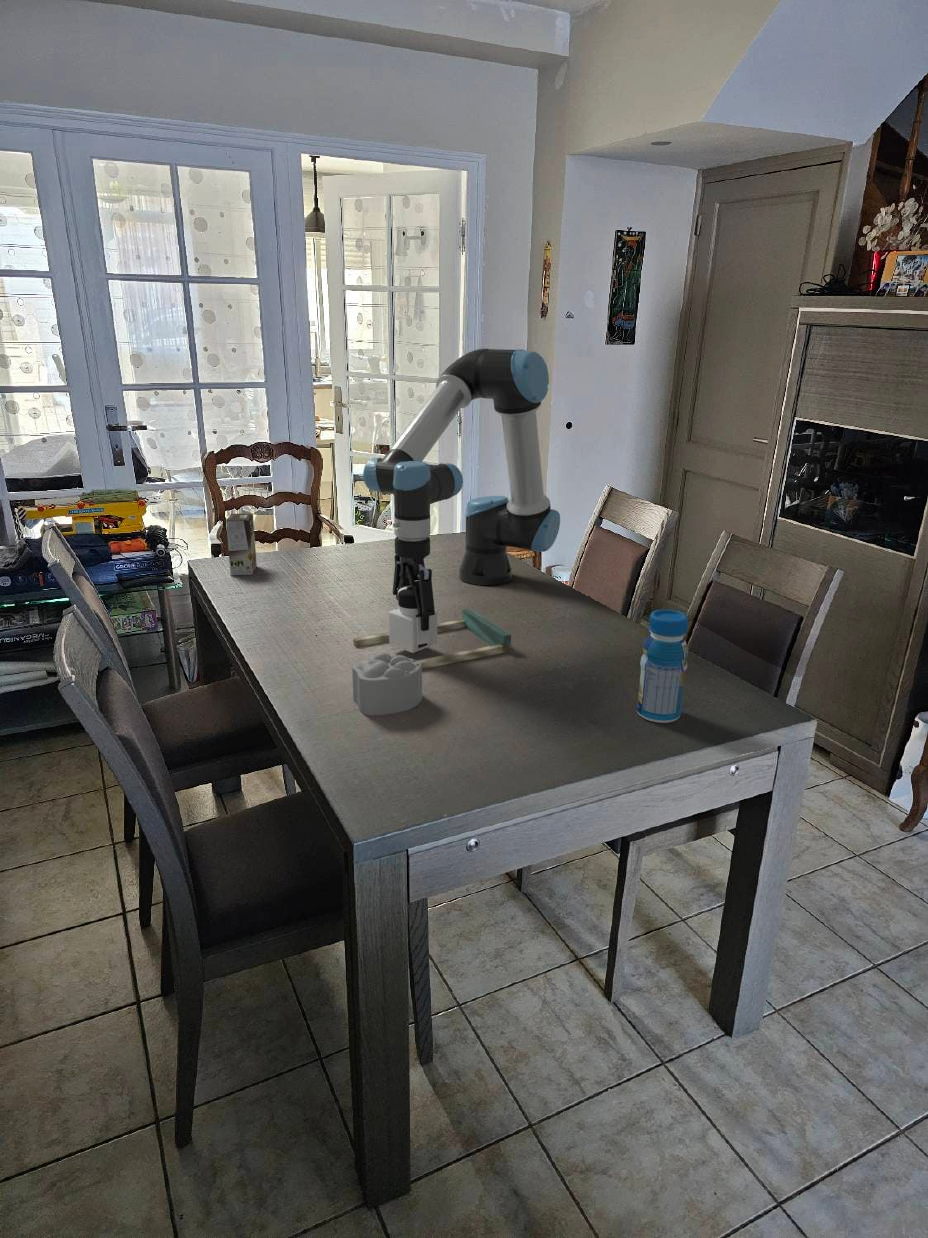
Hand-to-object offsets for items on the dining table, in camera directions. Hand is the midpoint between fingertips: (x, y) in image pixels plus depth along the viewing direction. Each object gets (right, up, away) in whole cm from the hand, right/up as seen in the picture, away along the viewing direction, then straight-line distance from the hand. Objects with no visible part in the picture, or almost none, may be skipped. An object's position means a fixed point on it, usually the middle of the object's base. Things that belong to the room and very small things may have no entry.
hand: (413, 635), depth 176 cm
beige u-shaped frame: (+4, -3, +3) cm, 6 cm away
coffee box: (-53, +17, +55) cm, 78 cm away
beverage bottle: (+48, -15, -25) cm, 56 cm away
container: (0, -2, +1) cm, 2 cm away
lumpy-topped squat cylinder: (-3, -12, -22) cm, 25 cm away
